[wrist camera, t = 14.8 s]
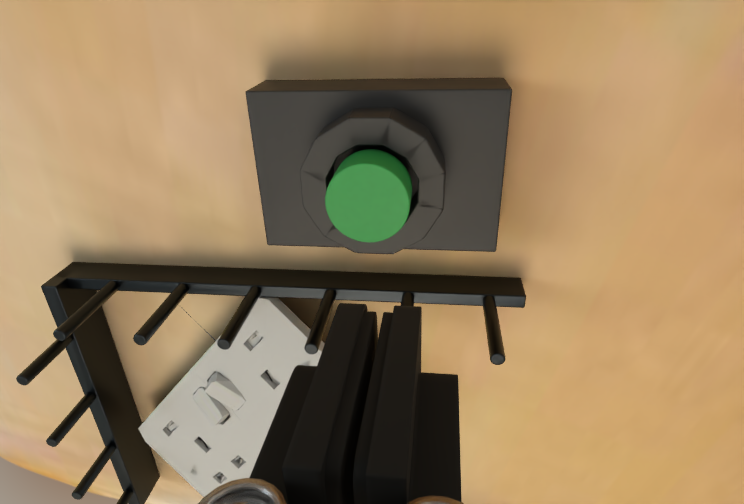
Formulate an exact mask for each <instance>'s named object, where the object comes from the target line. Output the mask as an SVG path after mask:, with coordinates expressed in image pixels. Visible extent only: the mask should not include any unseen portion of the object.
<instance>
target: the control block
mask: <svg viewBox="0 0 744 504" xmlns="http://www.w3.org/2000/svg"><path fill="white" fill-rule="evenodd" d="M511 96H512V89H511V87H510V86H509V85H508V83H507V82H506V80H505V79H504V78H439V79H351V80H266V81H264V82H262V83H260V84H258V85H257V86H255V87H253V88H251V89H249V90H247V91H246V99H247V105H248V112H249V119H250V126H251V133H252V140H253V147H254V154H255V161H256V168H257V175H258V182H259V189H260V196H261V203H262V210H263V216H264V223H265V230H266V237H267V244H268V245H283V246H317V247H345V248H347V249H349V250H351V251H353V252H355V253H356V252H357V253H369V254H394V253H396V252H398V251H400V250H402V249H420V250H454V251H489V252H495V251H496V247H497V237H498V227H499V217H500V206H501V196H502V186H503V176H504V166H505V156H506V146H507V136H508V126H509V116H510V106H511ZM366 149H376V150H381V151H385V152H387V153H389V154H392V155H393V156H395V157H396V158H397V159H399V160H400V161H401V162H402V163H403V164H404V166H405V167H406V169H407V170H408V172H409V175H410V177H411V181H412V196H411V204H410V211H409V215H408V218H407V220H406V222H405V224H404V226H403V227H402V228H401V229H400V230H399V231H398V232H397V233H396V234H395V235H393V236H392V237H390V238H388V239H385V240H383V241H379V242H361V241H357V240H354V239H351V238H349V237H347V236H346V235H344V234H343V233H341V232H340V231H339V230H338V229H337V228H336V227H335V226H334V225H333V223H332V222H331V220H330V218H329V216H328V214H327V211H326V206H325V195H326V191H327V187H328V185H329V183H330V181H331V179H332V178H333V176H334V174H335V172H336V170H337V169H338V167H339V165H340V164H341V163H342V162H343V160H345V159H346V158H347V157H348V156H350V155H351V154H353V153H355V152H358V151H361V150H366Z"/></svg>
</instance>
